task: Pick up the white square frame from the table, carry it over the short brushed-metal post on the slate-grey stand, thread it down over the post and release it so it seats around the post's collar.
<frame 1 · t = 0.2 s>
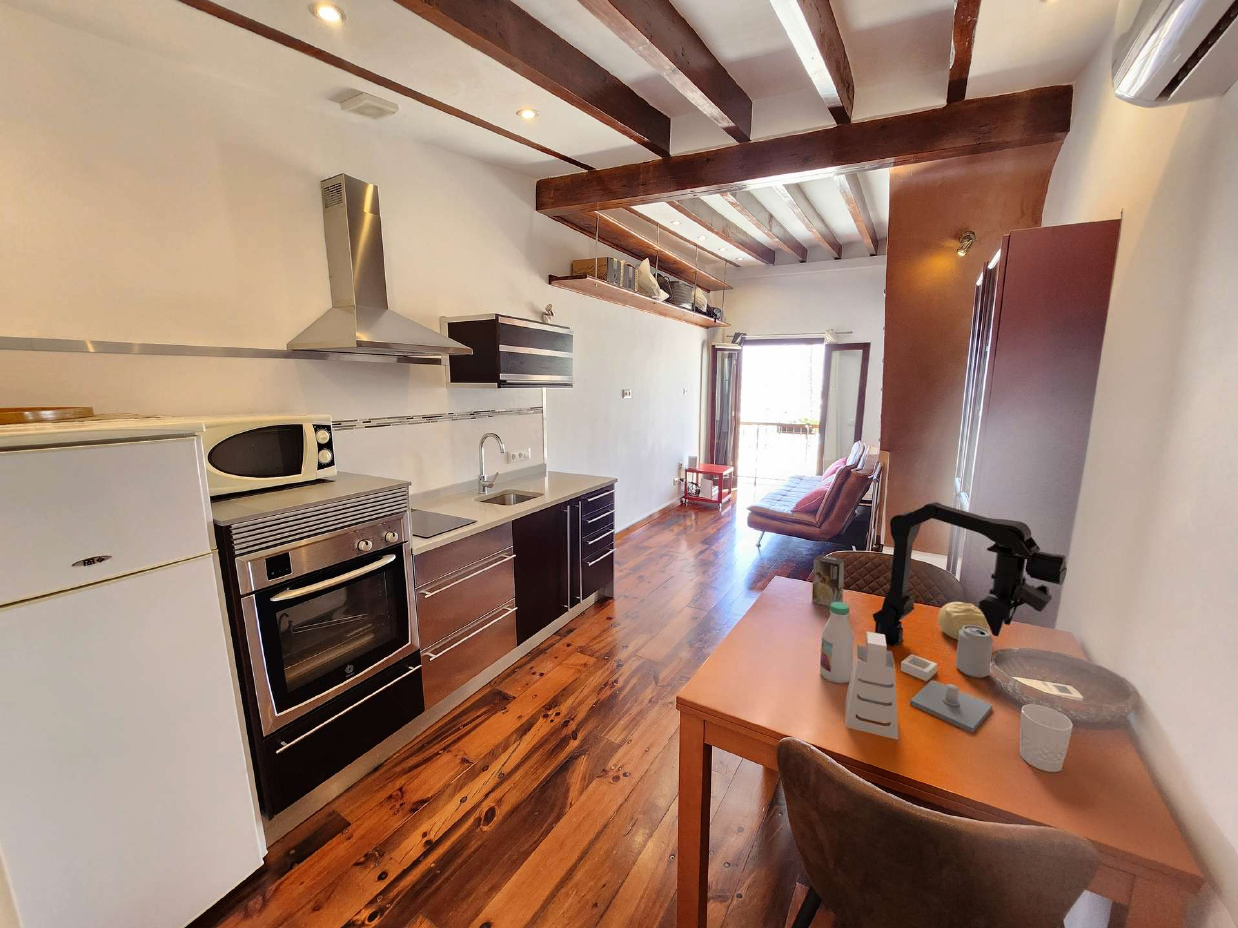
hand: (1001, 629, 127), 14 cm above the table, tool pointing down, fingers open, 9 cm apart
grater: (870, 719, 116), on the table
coffee box: (827, 603, 177), on the table
can: (972, 672, 134), on the table
white square frame: (918, 671, 134), on the table
sculpture: (959, 636, 153), on the table
milk bottle: (835, 676, 133), on the table
post stand: (950, 706, 120), on the table
white cup: (1040, 760, 103), on the table
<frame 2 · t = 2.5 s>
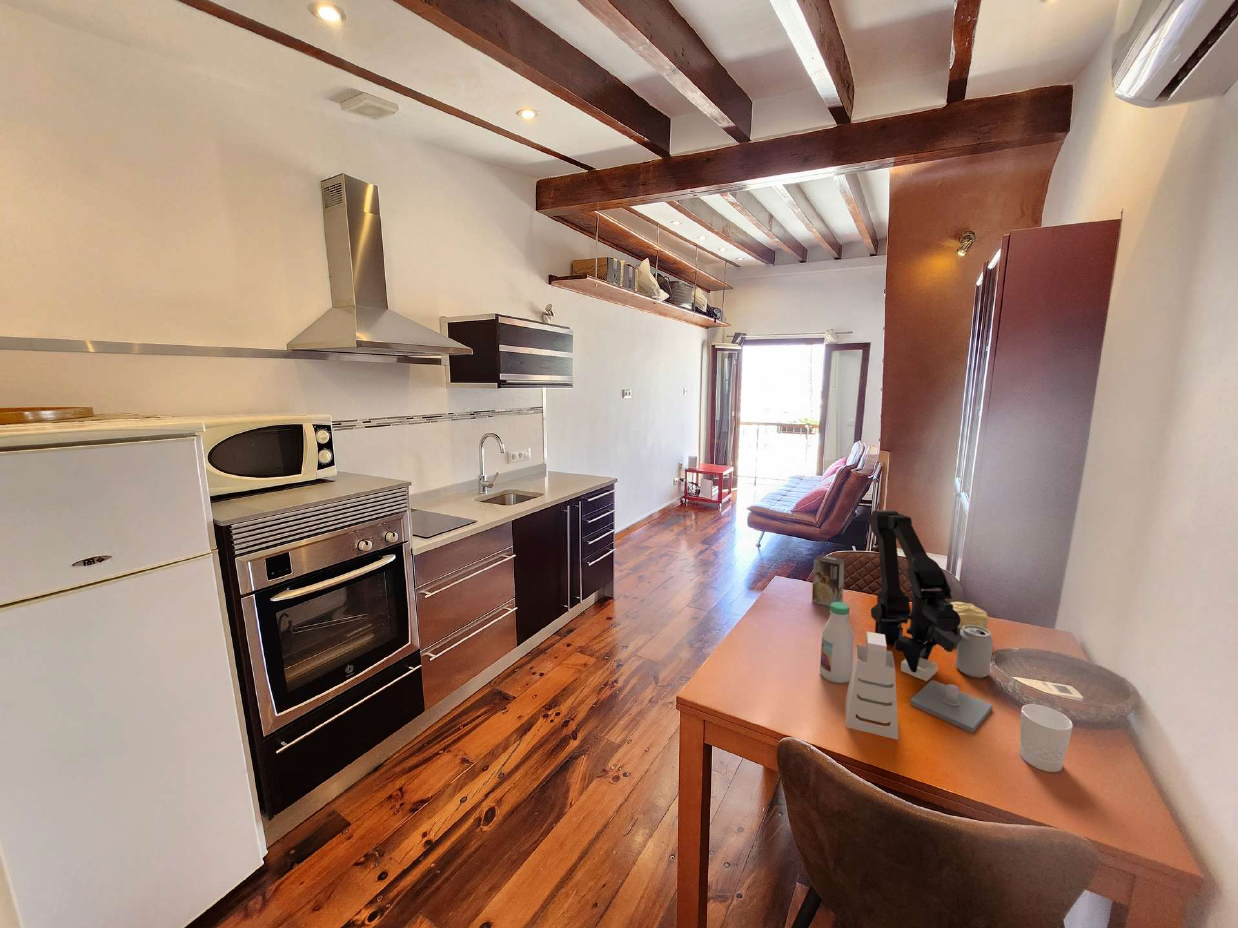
hand: (918, 667, 134), 1 cm above the table, tool pointing down, fingers closed on white square frame, 6 cm apart
white square frame: (918, 671, 134), on the table, touching gripper
everything else where it was.
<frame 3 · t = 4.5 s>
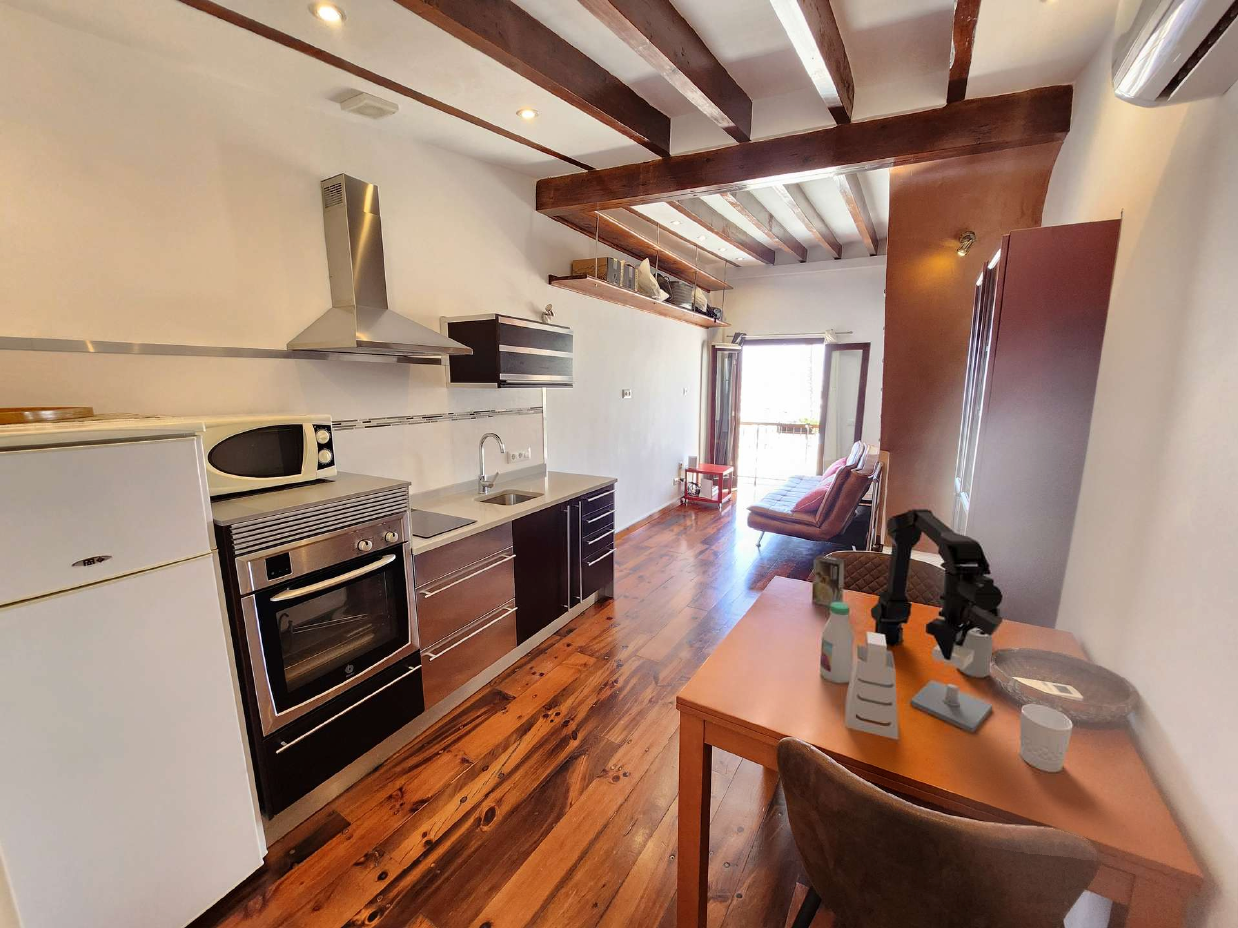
hand: (952, 654, 119), 13 cm above the table, tool pointing down, fingers closed on white square frame, 6 cm apart
white square frame: (952, 659, 119), point 12 cm above the table, touching gripper
everything else where it was.
when the fingers open (4 cm above the table, at t = 6.5 s): white square frame drops 1 cm, resting on post stand.
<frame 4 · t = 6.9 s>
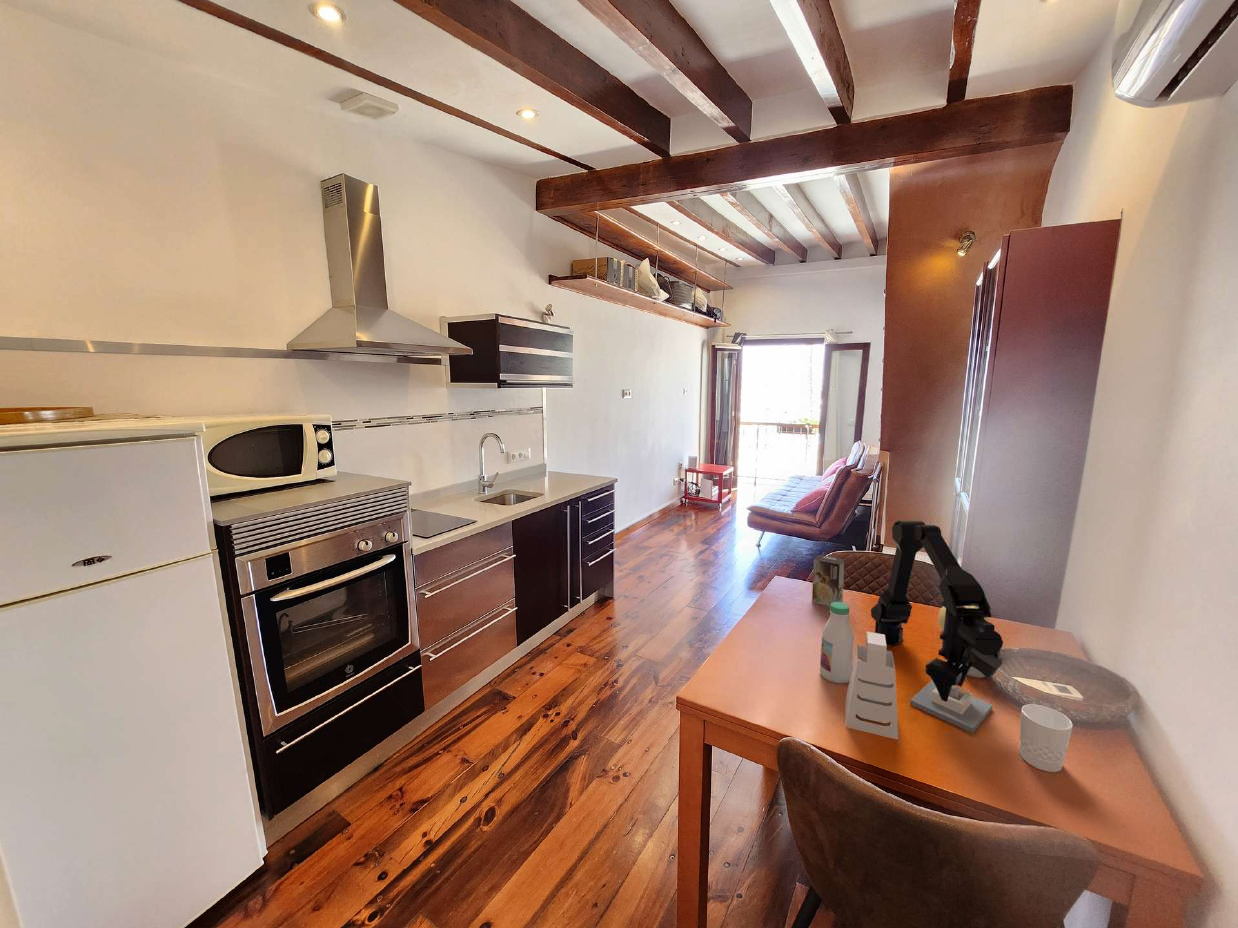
hand: (951, 692, 119), 4 cm above the table, tool pointing down, fingers open, 9 cm apart
white square frame: (951, 702, 120), point 1 cm above the table, touching post stand
everything else where it was.
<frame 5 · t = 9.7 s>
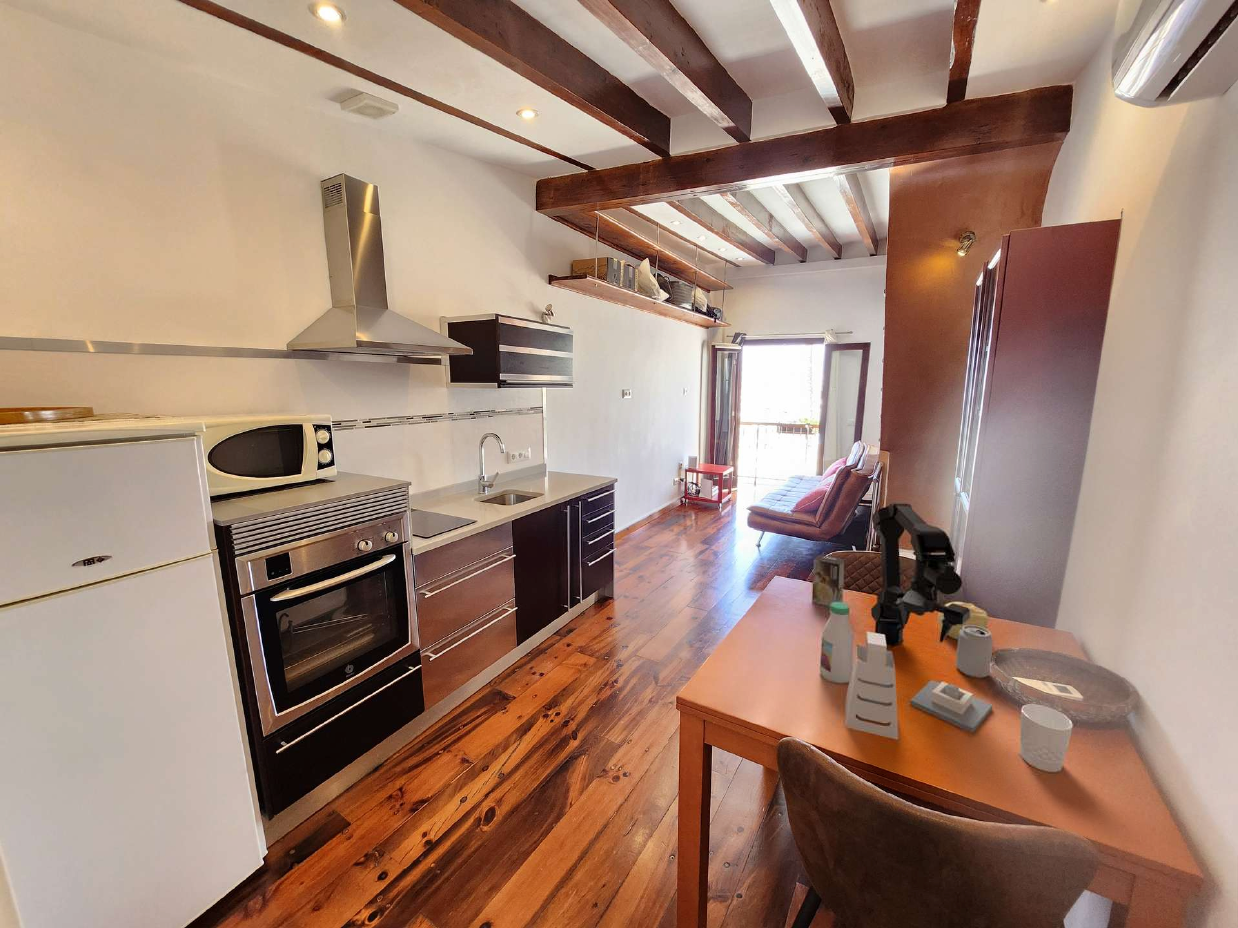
hand: (921, 634, 130), 12 cm above the table, tool pointing down, fingers open, 9 cm apart
nothing on the table moved.
at the end: white square frame 0.1 cm from the post stand (horizontally); white square frame point 1.2 cm above the table; the gripper is holding nothing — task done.
